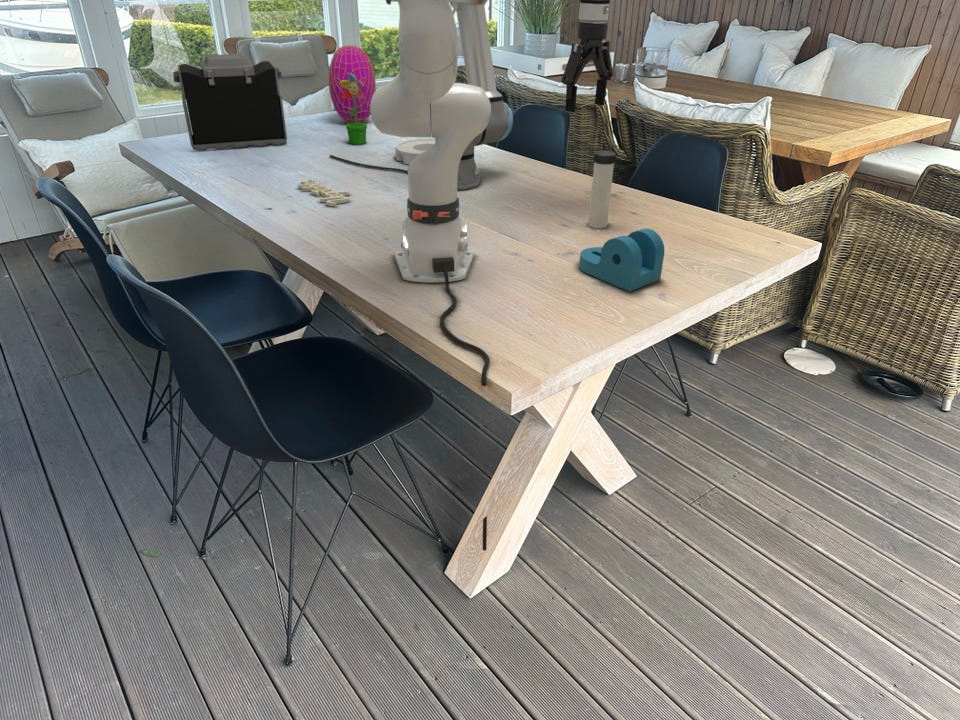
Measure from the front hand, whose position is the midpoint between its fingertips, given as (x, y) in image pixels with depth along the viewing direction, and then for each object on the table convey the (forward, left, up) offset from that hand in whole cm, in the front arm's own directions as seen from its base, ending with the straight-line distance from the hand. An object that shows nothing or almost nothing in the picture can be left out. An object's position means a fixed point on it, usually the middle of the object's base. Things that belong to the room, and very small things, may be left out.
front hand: (430, 23), depth 166 cm
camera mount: (-42, -41, -48) cm, 76 cm away
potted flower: (+85, +30, -48) cm, 102 cm away
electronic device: (+86, +75, -48) cm, 124 cm away
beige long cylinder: (-9, -44, -48) cm, 66 cm away
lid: (-9, -44, -29) cm, 53 cm away
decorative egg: (+122, +35, -48) cm, 135 cm away
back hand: (+10, -42, -21) cm, 48 cm away
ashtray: (+62, +3, -48) cm, 79 cm away
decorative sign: (+20, +33, -48) cm, 62 cm away
